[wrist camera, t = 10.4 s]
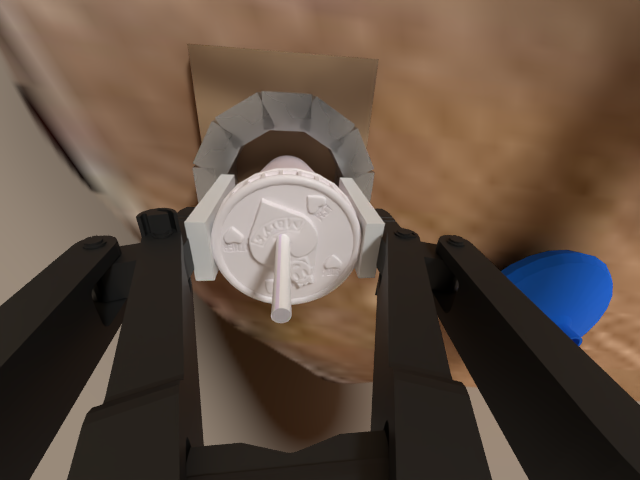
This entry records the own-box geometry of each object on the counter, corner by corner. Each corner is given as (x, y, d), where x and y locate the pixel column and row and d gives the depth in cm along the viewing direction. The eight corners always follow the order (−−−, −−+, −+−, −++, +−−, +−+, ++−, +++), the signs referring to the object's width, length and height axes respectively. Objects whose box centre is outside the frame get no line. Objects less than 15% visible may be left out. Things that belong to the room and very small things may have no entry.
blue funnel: (593, 300, 34) (660, 346, 28) (477, 359, 37) (514, 412, 31) (571, 209, 27) (654, 244, 21) (430, 291, 30) (466, 343, 24)
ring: (197, 86, 18) (178, 86, 15) (369, 97, 19) (385, 99, 16) (218, 241, 23) (208, 264, 20) (351, 241, 25) (360, 262, 21)
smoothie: (312, 119, 18) (365, 182, 6) (343, 202, 21) (419, 358, 9) (225, 156, 19) (107, 287, 6) (267, 232, 22) (243, 417, 9)
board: (193, 46, 18) (187, 43, 16) (373, 60, 19) (378, 59, 18) (221, 256, 25) (219, 263, 24) (348, 255, 27) (351, 262, 26)
